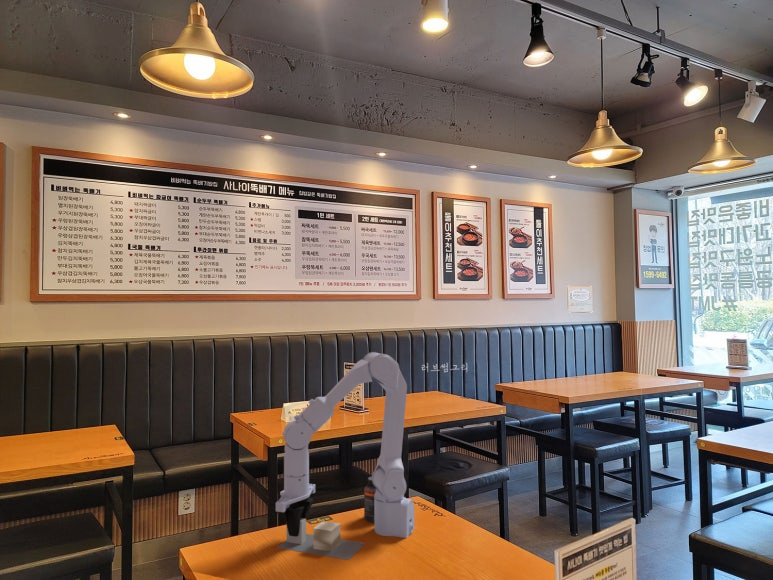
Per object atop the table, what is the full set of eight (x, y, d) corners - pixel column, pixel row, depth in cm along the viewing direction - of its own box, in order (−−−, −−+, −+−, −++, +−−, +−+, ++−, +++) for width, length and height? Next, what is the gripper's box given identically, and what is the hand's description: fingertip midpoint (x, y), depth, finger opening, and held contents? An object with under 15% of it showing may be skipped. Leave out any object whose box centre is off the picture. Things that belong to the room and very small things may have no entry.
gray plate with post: (365, 547, 121) (365, 520, 121) (348, 564, 112) (348, 535, 112) (296, 536, 127) (296, 511, 127) (276, 552, 119) (276, 524, 119)
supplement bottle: (384, 527, 132) (384, 482, 133) (361, 526, 133) (361, 480, 134) (389, 519, 138) (388, 475, 139) (367, 517, 139) (367, 474, 140)
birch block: (340, 543, 120) (340, 523, 121) (331, 551, 116) (331, 530, 116) (322, 541, 122) (322, 521, 122) (313, 548, 118) (313, 528, 118)
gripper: (297, 464, 131) (297, 520, 130) (264, 480, 118) (263, 543, 117) (322, 466, 128) (323, 523, 128) (291, 484, 115) (291, 547, 114)
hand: (296, 533), depth 122 cm, fingers closed on gray plate with post, 2 cm apart
